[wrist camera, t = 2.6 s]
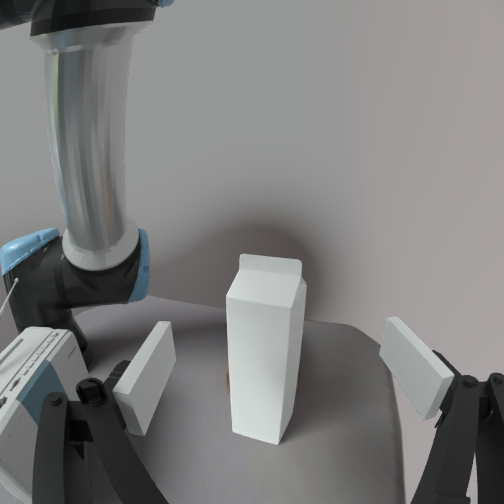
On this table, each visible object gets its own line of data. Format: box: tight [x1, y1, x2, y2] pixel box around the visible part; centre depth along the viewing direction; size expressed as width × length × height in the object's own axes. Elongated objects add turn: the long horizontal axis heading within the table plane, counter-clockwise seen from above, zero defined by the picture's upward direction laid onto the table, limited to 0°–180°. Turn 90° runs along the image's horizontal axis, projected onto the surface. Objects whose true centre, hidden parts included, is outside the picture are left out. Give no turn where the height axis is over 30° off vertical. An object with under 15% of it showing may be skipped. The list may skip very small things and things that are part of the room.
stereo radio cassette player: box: [0, 278, 90, 504], centre depth 17 cm, size 21×8×20 cm, turn 9°
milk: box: [226, 254, 306, 445], centre depth 27 cm, size 6×6×22 cm
